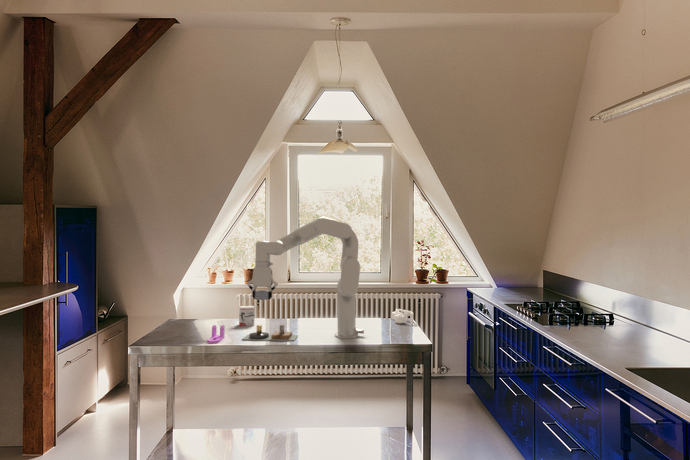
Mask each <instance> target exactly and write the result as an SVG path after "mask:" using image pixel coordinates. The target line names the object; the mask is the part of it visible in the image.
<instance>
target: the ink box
mask: <svg viewBox="0 0 690 460" xmlns="http://www.w3.org/2000/svg"><path fill="white" fill-rule="evenodd" d="M238 307H239V309H238V310H239V313H238V318H239V319H238V322H239V323H238V326H239V327H250V326H251V327H253V326H255V306H254V305H240V306H238Z"/></svg>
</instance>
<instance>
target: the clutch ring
mask: <svg viewBox="0 0 690 460" xmlns="http://www.w3.org/2000/svg"><path fill="white" fill-rule="evenodd" d="M268 292H269V290H263V289H262V290H261V289H260V290H255V299H254V300H257V301H268V300H269V299H268Z"/></svg>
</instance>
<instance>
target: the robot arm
mask: <svg viewBox="0 0 690 460" xmlns="http://www.w3.org/2000/svg"><path fill="white" fill-rule="evenodd" d="M321 235H326V236H330V237H333V238H337V239H339V240H340V241H341V244H342V248H341V249H342V250H341V251H342V252H341V259H340V264H339V265H340V270H341V273H340V278H339V280H338V281H337V285H336V291H337V292H336V293H337V295H336V296H337V332H336V333H334V337H335V338H337V339H344V340H345V339H347V340H348V339H356V338H359V334H365V330H364V329H361V328H360V329H358V328H357V326H356V306H357V305H356V300H357V299H356V293H357V292H358V289H359V283H360V275H361V274H360V273H361V265H360V261H359V260H358V258H359V257H358V256H359V239H358V236H357V234H356V233H355V231H354V230H353V228H352V226H351V225H350V224H349V223H346V222H342V221H339V220H336V219H332V218H330V217H329V218H328V217H326V216H320V217H318V218H316V219H314V220H312V221H310V222H308V223H306V224H304V225H302V226H301V227H298V228H297V229H296V228H295V230H294V231H292V232H291V233H289V234H287V235H286V236H283V237H282V238H280V239H277V240H274V241H269V240H258V241H256V243H255V258H254V259H255V262H254V263H255V264H254V265H255V266H254V267H253V270H252V278H251V279H250V280H249V281H247V283H246V286H247V287H249V289H250V290H251V293H252V295H251V296H252V299H253V300H256V299H255V291H256V290H257V288H258V287H259V288H260V287H263V288H264V287H265V288H266V287H267V289H268V291H269V292H268V300H271V299H272V298H273V291H275V289H276V288H277V286H279V283H278V282H276V280H274V277H273V276H274V275H273V269H272V267H271V266H273V265H274V264H273V262H271V256H282V254H284V253H286V252H287V251H290V250H292V249H294V248H295V247H298V246H301V245H304V244H306V243H308V242H310V241H311V240H314V239H316V238H318V237H319V236H321Z"/></svg>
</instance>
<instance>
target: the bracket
mask: <svg viewBox="0 0 690 460" xmlns="http://www.w3.org/2000/svg"><path fill="white" fill-rule="evenodd" d="M225 331H226V330H225V325H224V324H223V325H220V327H219V335H218V334H217V325H216V324H213V325H212V327H211V337H210V338H209V339H207V343H208V344H218V343H220V342H221V341H222V340H224V339H225V334H226V333H225Z"/></svg>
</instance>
